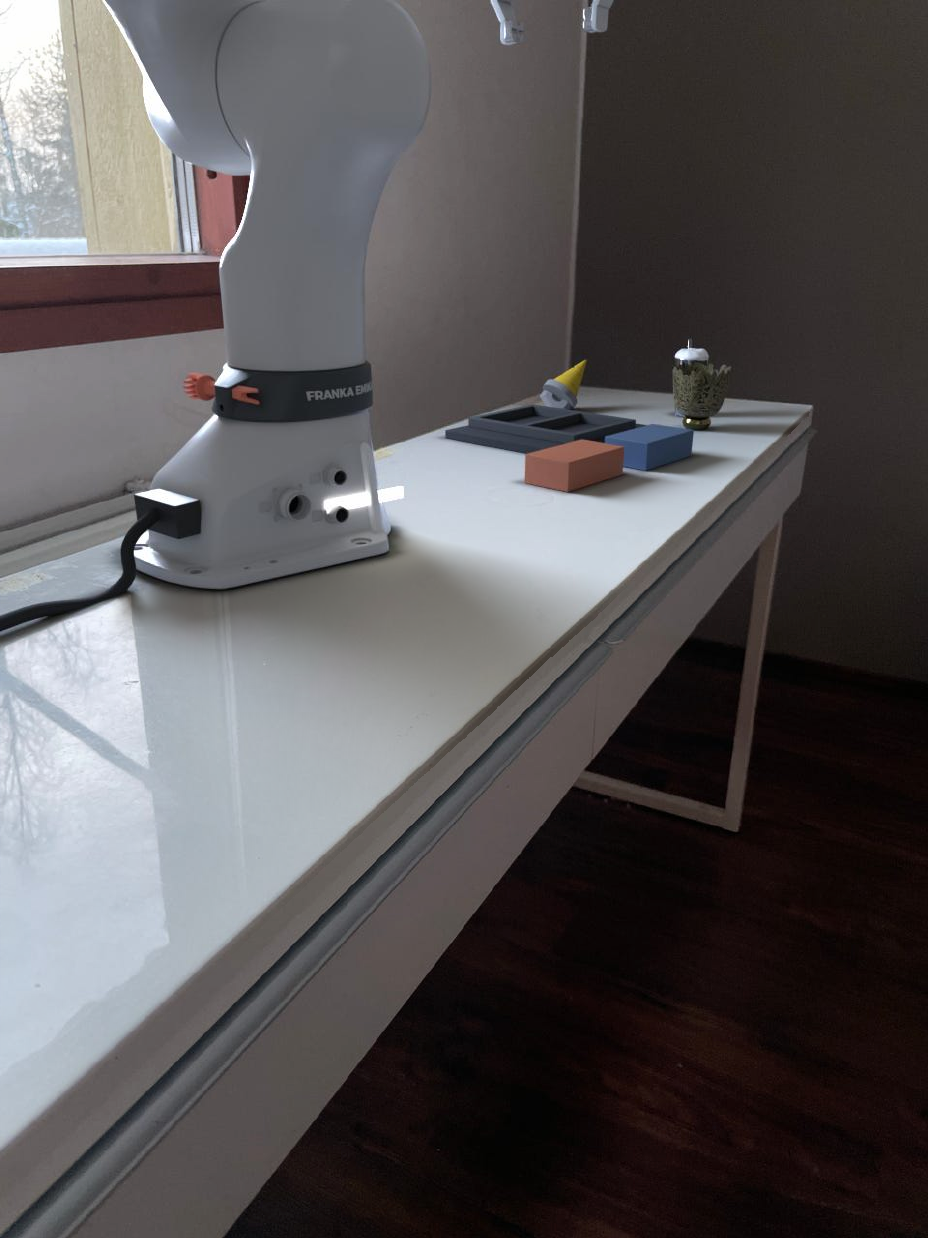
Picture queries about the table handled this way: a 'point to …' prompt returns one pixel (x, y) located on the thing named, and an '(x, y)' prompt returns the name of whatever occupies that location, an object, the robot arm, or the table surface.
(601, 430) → the backing plate
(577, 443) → the orange-red rectangular block
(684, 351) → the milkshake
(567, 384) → the yellow cone tip
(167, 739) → the table surface
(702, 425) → the cup
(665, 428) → the blue rectangular block
